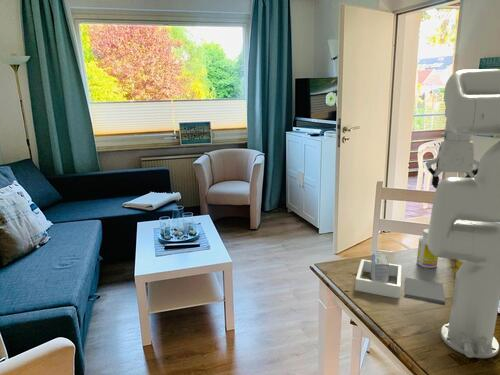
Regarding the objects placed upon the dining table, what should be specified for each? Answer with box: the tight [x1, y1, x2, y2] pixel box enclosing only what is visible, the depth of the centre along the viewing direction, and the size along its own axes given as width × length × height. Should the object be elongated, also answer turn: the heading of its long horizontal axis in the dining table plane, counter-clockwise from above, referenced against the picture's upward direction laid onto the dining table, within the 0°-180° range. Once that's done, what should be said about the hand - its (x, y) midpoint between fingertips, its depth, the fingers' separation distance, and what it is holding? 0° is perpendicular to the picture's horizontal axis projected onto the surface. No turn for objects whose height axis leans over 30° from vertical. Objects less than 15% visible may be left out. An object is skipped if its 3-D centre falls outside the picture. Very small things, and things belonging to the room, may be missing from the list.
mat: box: [404, 277, 446, 304], centre depth 114 cm, size 11×11×1 cm
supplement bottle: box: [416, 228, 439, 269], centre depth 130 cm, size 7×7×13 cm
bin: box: [354, 259, 402, 299], centre depth 119 cm, size 15×13×4 cm
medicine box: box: [370, 253, 390, 283], centre depth 119 cm, size 8×4×9 cm, turn 168°
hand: (450, 187), depth 122 cm, fingers open, 9 cm apart
